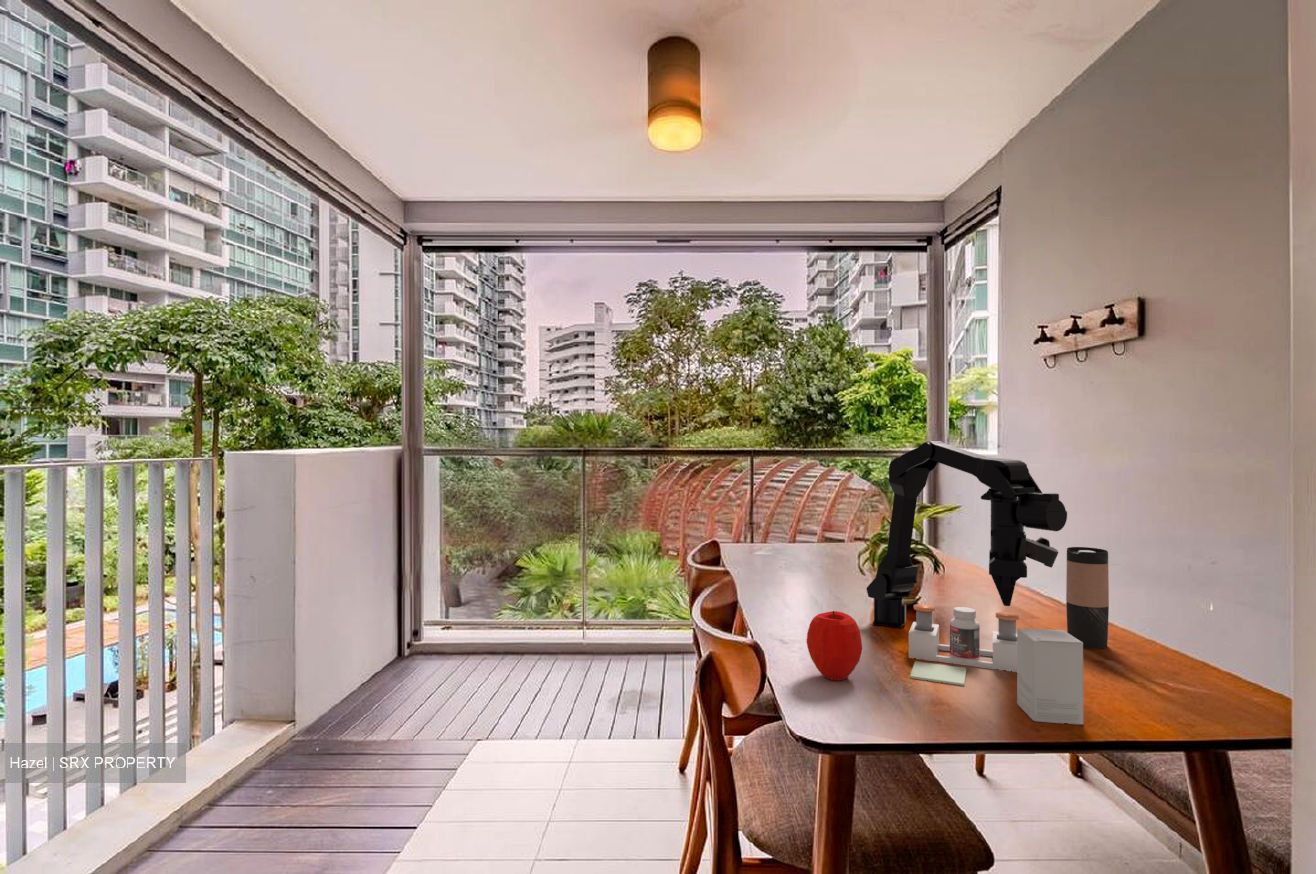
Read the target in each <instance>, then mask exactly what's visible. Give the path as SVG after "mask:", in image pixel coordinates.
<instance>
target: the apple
mask: <svg viewBox="0 0 1316 874" xmlns="http://www.w3.org/2000/svg"><path fill="white" fill-rule="evenodd" d="M806 645H807V650H808V653H809V656H810V658H811V661H812V663H813V664H814V665H815V667H816V668H817V671H819V673H820V675H822V676H823V677H824V678H827V679H829V680H832V681H839V682H840V681H843V680H846V679H847V678H848V677H849V676H850V675H851V674H852V673H853V671H854V670H855V668H856V667H857V665H858V663H859V662H860V660H861V656H862V651H863V641H862V635H861V630H860V627H859V625H858V624H857V621H856V620H855V619H854V618H853V617H852V616H851V615H849V614H848V613H845V612H843V611H837V610H833V611H832V610H831V611H826V612H821V613H818V614H817V615H815V616H814V617H813V618H812V619H811V621H810V623H809V626H808V629H807V633H806Z"/></svg>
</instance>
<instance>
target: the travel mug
mask: <svg viewBox="0 0 1316 874" xmlns="http://www.w3.org/2000/svg"><path fill="white" fill-rule="evenodd" d="M1065 577H1066V580H1065V581H1066V586H1065V587H1066V588H1065V594H1066V595H1065V596H1066V598H1065V600H1066V601H1065V602H1066V603H1065V605H1066V628H1067V631H1066V632H1067V633H1069V634H1070V635H1072V636H1073V637H1075V638H1076V639H1078V640H1080V641H1081V642H1083V649H1093V650H1102V649H1107V648H1108V638H1109V637H1108V636H1109V616H1110V615H1109V613H1110V611H1109V610H1110V608H1109V606H1110V598H1109V597H1110V594H1109V593H1110V591H1109V588H1110V587H1109V550H1108V549H1107V550H1106V549H1104V548H1097V547H1087V546H1086V547H1085V546H1071V547H1070V546H1069V547H1067V548H1066V575H1065Z"/></svg>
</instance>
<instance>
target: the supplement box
mask: <svg viewBox="0 0 1316 874" xmlns="http://www.w3.org/2000/svg"><path fill="white" fill-rule="evenodd" d="M1016 633H1017V672H1016V673H1017V674H1016V676H1017V678H1016V679H1017V680H1016V681H1017V691H1016V693H1017V694H1016V695H1017V699H1016V700H1017V701H1016V703H1017V706H1019V707H1020V708H1021V709H1022V710H1023V712H1024V713H1025V714H1026V715H1027V716H1028V717H1029V718H1030V719H1031V720H1032V721H1033V722H1040V723H1051V724H1052V723H1053V724H1064V723H1068V724H1069V725H1083V724H1084V647H1083V642H1081V641H1080V640H1078V639H1076V638H1075V637H1073V636H1072V635H1070V634H1069V633H1067V631H1066V630H1064V629H1048V628H1046V629H1045V628H1016ZM1068 724H1067V725H1068Z"/></svg>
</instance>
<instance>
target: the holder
mask: <svg viewBox="0 0 1316 874" xmlns="http://www.w3.org/2000/svg"><path fill="white" fill-rule="evenodd" d="M939 651H943V652H950V644H942V643H941V644H940V624H938V623H932V632H929V631H921V630H916V621H913V622H912V624H911V626H910V629H909V631H908V659H914V658H916V660H921V659H922V660H923V659H924V660H923V661H931V662H937V661H938V663H939V662H940V663H946V664H952V663H953V664H954V665H961V666H967V667H976V668H982V669H991V670H996V669H999V670H998V671H1003V670H1006V671H1005V672H1011V671H1012V673H1017V632H1016V642H1015V641H1007V640H999V630H992V650H990V649H984V648H983V649H982V648H980V655H979V656H984V657H992V661H985V660H984V661H983V660H970V659H963V658H955V657H951V656H947V655H939Z"/></svg>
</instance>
